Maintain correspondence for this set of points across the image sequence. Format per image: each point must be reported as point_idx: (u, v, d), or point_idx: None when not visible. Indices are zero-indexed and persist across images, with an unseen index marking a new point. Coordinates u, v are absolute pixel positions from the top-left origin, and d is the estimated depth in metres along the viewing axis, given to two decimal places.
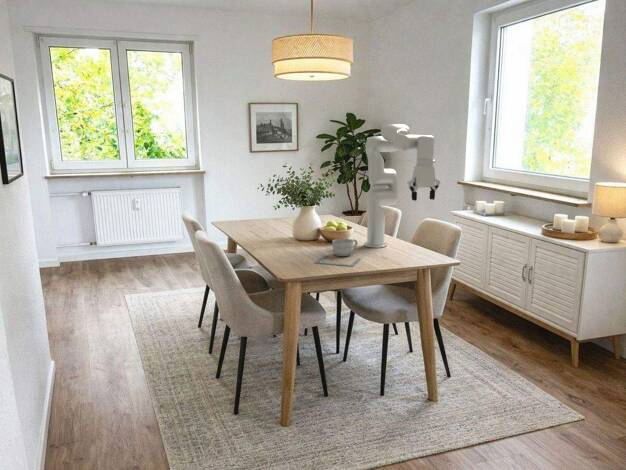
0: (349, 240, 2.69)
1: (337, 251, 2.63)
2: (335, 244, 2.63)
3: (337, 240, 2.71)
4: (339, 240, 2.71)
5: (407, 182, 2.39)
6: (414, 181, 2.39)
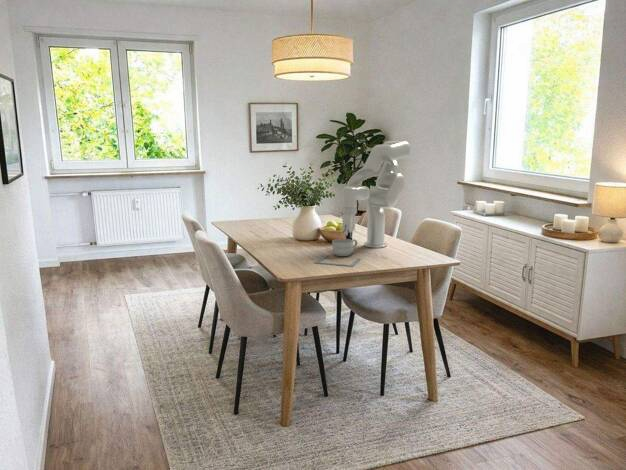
0: (349, 240, 2.69)
1: (337, 251, 2.63)
2: (335, 244, 2.63)
3: (337, 240, 2.70)
4: (339, 240, 2.71)
5: (345, 234, 2.68)
6: None
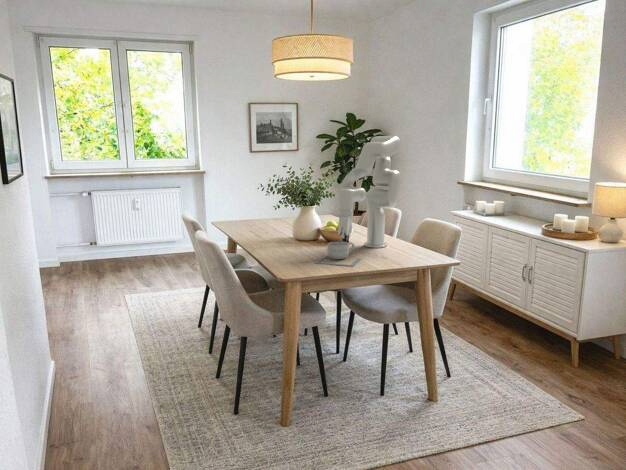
0: (345, 243, 2.62)
1: (331, 254, 2.57)
2: (330, 247, 2.57)
3: (333, 243, 2.64)
4: (336, 243, 2.64)
5: None
6: None
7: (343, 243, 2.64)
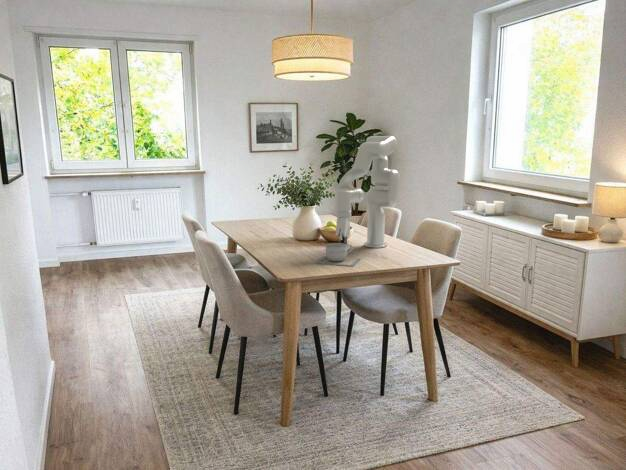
0: (343, 244, 2.59)
1: (329, 256, 2.53)
2: (327, 248, 2.53)
3: (331, 244, 2.60)
4: (333, 244, 2.61)
5: None
6: None
7: (341, 245, 2.60)
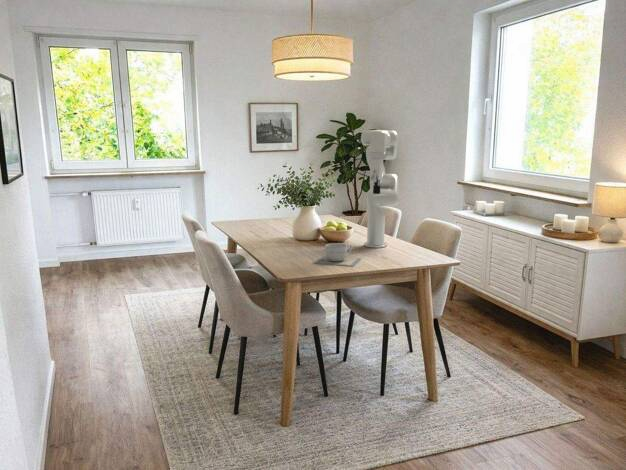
0: (343, 245, 2.59)
1: (329, 256, 2.53)
2: (327, 249, 2.53)
3: (331, 244, 2.60)
4: (333, 244, 2.61)
5: (373, 181, 2.53)
6: None
7: (341, 245, 2.60)
